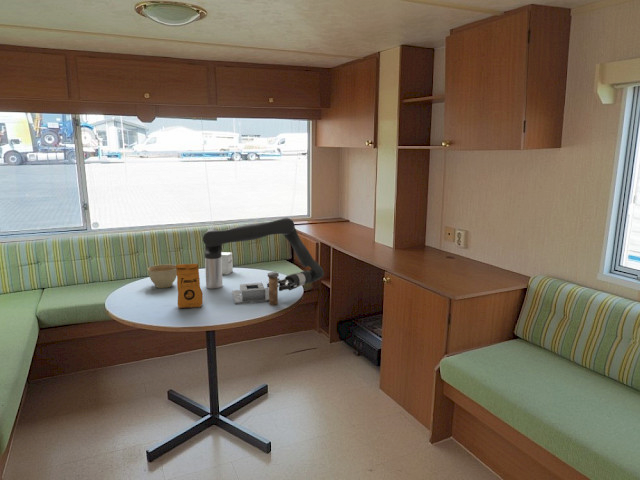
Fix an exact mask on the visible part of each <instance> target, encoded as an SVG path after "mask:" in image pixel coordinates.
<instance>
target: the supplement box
mask: <svg viewBox="0 0 640 480" xmlns="http://www.w3.org/2000/svg"><path fill="white" fill-rule="evenodd" d="M221 256H222V275H230V274H231V273H232V272H233V270H234V269H233V268H234V266H233V263H234V262H233V252H229V251H228V252H224V251H222V253H221ZM233 273H234V272H233Z"/></svg>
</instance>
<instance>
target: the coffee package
mask: <svg viewBox="0 0 640 480" xmlns="http://www.w3.org/2000/svg"><path fill="white" fill-rule="evenodd" d="M175 265H176V270H177V276H176V279H177V281H176V286H177V307H178V308H179V309H185V308H189V309H190V308H192V309H193V308H202V305H203V304H204V302H203V301H204V300H203V297H204V296H203V290H202V288H201V282H200V272H199V270H200V268H199V263H182V264H181V263H180V264H175Z"/></svg>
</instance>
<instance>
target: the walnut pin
mask: <svg viewBox="0 0 640 480" xmlns="http://www.w3.org/2000/svg"><path fill="white" fill-rule="evenodd" d="M279 276H280V275H279V272H276V271H274V272H268V273H267V277H268V283H269V302H268V305H270V306H277V305H278V304H279V303H278V302H279V299H278V297H279V296H278V291H279V287H278V285H279V284H278V278H279Z"/></svg>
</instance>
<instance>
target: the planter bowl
mask: <svg viewBox="0 0 640 480" xmlns="http://www.w3.org/2000/svg"><path fill="white" fill-rule="evenodd" d="M176 265H177V264H166V263H165V264H156V265H152V266H150V267H148V268H147V271H148V276H149V279H150V281H151V282H152V283H153V284H154V287H155V288H159V289H165V288H170V287H172V286H173V285H174V283H175V281H176V279H177V270H176Z"/></svg>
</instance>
